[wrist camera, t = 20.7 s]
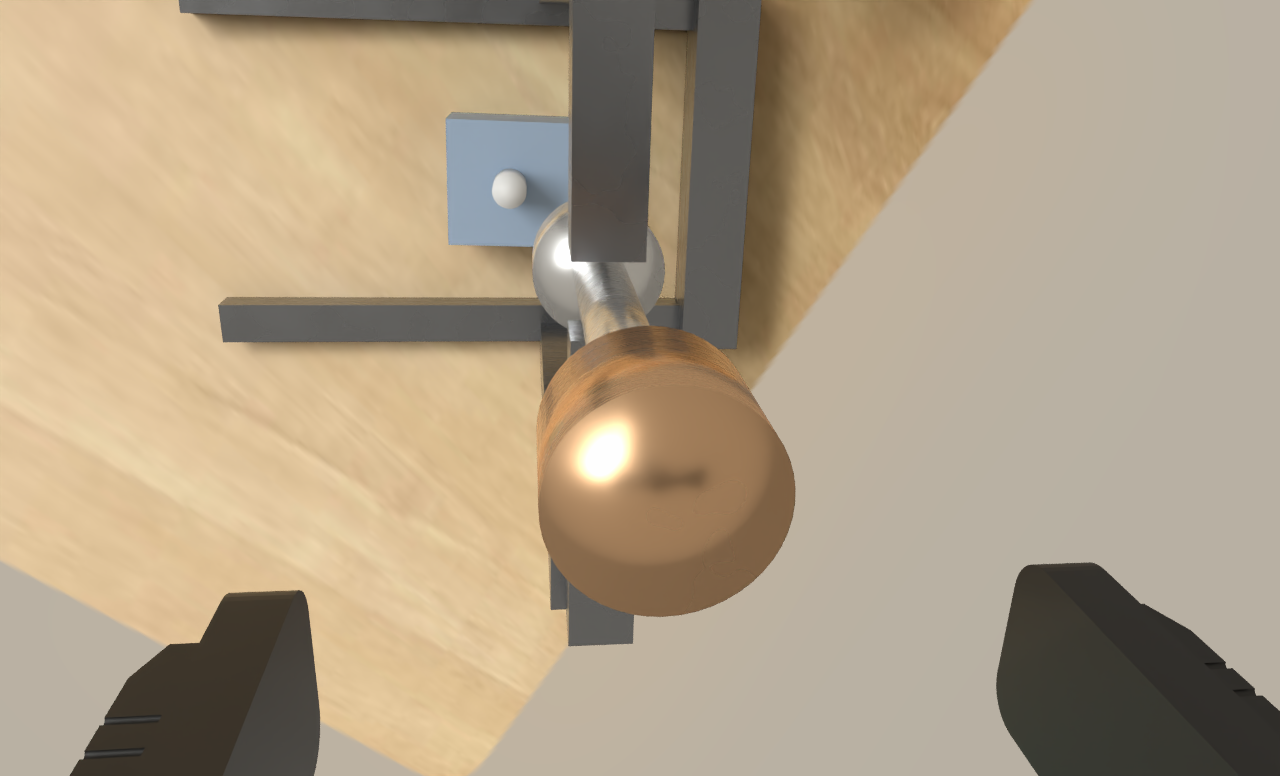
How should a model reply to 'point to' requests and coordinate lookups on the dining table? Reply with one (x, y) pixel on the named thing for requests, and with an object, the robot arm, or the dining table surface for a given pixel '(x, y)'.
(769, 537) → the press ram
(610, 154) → the press frame
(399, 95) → the dining table surface
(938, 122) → the dining table surface
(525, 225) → the housing block
